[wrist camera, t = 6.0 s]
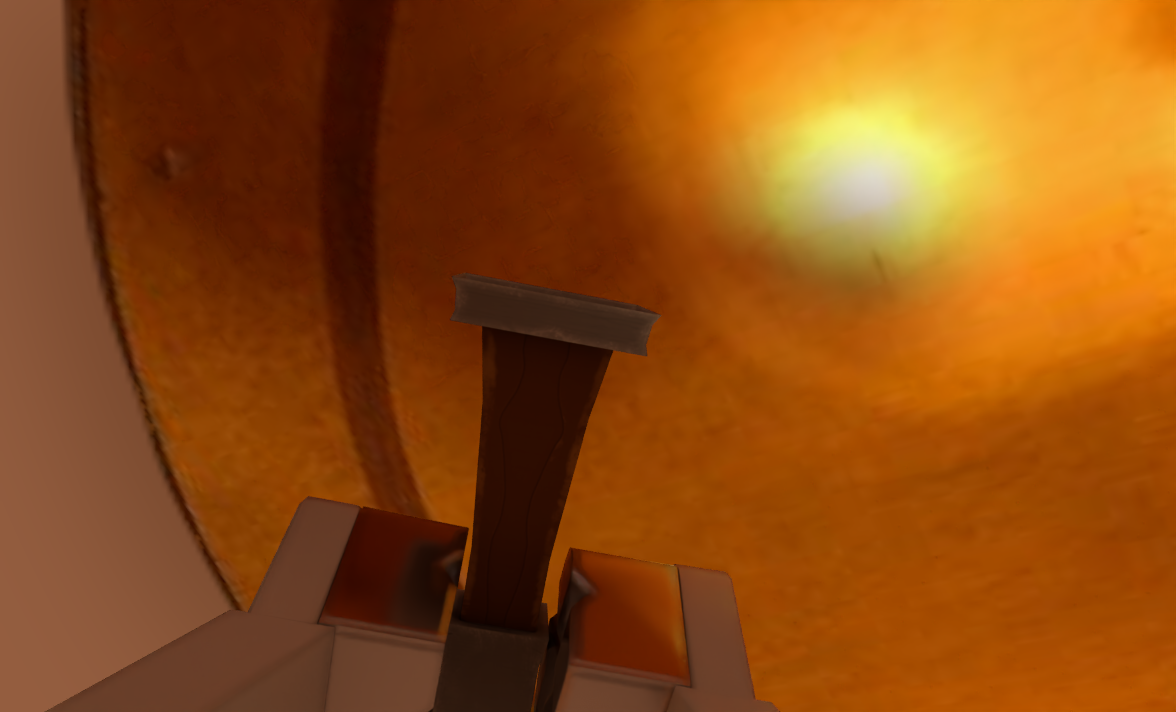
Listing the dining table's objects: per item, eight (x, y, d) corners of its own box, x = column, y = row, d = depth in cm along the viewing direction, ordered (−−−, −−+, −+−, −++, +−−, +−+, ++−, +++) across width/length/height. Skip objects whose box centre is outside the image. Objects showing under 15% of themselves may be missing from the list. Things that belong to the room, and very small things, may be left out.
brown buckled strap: (371, 857, 13) (292, 1166, 9) (476, 268, 13) (450, 275, 8) (504, 875, 13) (494, 1188, 9) (615, 294, 13) (666, 315, 8)
